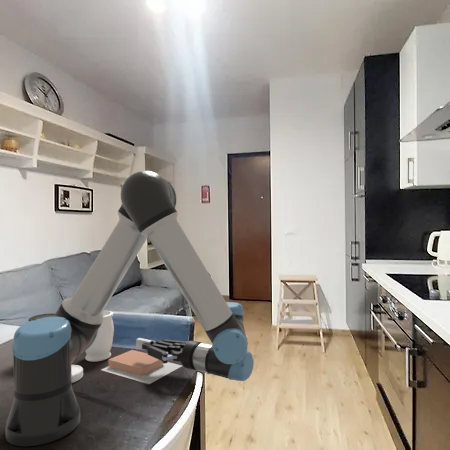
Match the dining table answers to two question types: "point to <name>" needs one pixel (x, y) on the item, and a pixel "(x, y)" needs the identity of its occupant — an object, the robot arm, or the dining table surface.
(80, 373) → the white bowl
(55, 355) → the robot arm
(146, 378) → the mat
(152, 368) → the tile
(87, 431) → the dining table surface
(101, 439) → the dining table surface
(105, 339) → the jar
